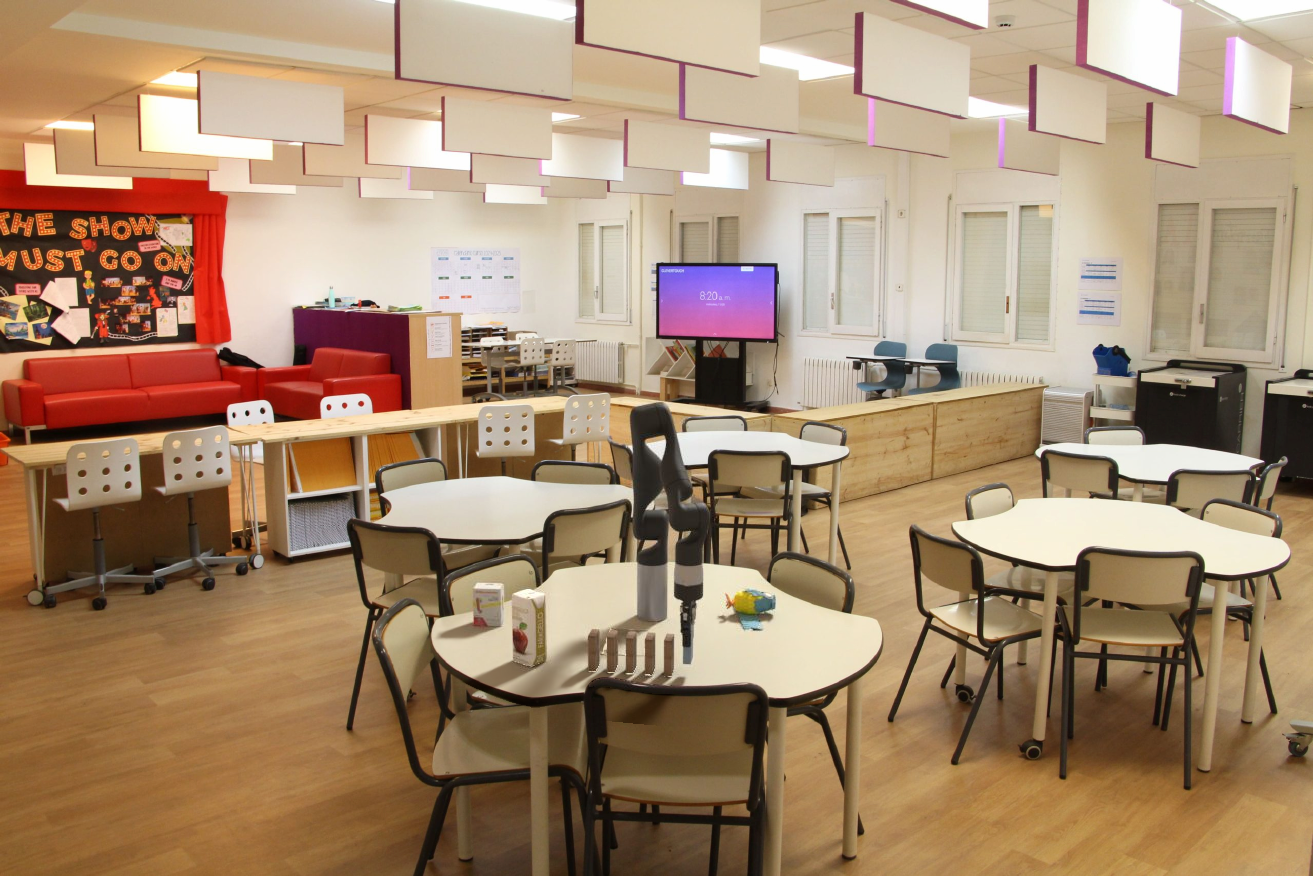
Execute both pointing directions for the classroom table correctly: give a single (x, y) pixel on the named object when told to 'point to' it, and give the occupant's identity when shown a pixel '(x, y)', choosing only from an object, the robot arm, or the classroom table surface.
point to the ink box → (488, 604)
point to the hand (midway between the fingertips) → (687, 642)
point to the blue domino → (688, 650)
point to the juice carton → (529, 627)
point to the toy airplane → (751, 606)
